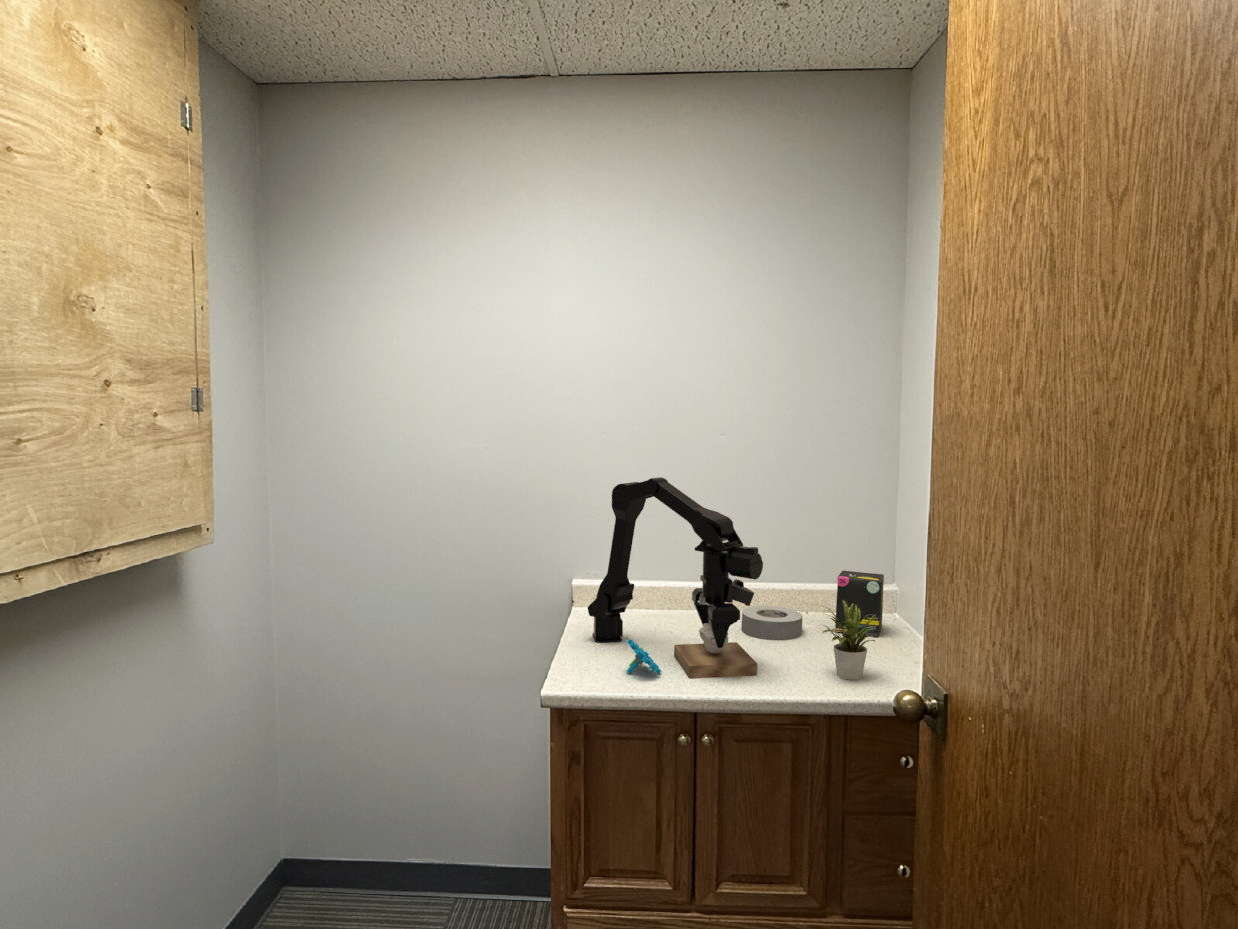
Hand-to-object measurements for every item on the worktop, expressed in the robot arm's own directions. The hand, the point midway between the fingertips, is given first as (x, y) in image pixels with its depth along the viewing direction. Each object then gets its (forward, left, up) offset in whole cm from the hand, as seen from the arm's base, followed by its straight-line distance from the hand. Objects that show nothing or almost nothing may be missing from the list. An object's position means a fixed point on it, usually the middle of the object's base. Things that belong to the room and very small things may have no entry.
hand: (714, 641), depth 179 cm
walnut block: (0, 0, -6) cm, 6 cm away
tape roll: (+22, +24, -6) cm, 33 cm away
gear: (-16, -2, -6) cm, 18 cm away
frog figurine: (0, 0, -3) cm, 3 cm away
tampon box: (+45, +22, -6) cm, 50 cm away
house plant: (+27, -9, -6) cm, 29 cm away
